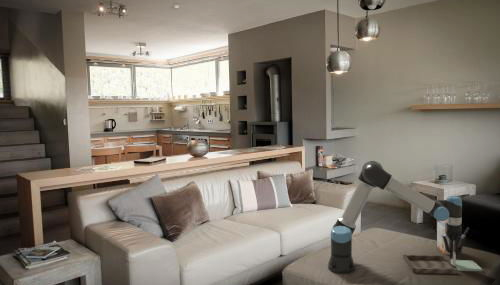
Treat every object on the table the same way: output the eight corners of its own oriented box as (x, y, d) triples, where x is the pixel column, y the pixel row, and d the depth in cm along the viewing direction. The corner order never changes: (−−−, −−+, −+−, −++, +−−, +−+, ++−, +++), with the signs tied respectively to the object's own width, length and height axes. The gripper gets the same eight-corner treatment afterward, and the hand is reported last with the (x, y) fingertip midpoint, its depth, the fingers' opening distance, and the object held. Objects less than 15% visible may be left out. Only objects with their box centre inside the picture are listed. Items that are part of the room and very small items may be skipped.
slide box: (413, 273, 215) (413, 268, 215) (403, 259, 235) (403, 254, 235) (457, 274, 212) (457, 269, 212) (443, 260, 232) (443, 255, 232)
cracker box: (454, 255, 239) (455, 222, 237) (444, 255, 240) (444, 222, 238) (446, 247, 253) (446, 216, 251) (436, 247, 254) (436, 215, 252)
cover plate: (459, 272, 216) (459, 268, 216) (450, 264, 228) (450, 260, 228) (482, 273, 215) (482, 268, 214) (472, 264, 226) (472, 260, 226)
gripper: (444, 225, 217) (443, 266, 219) (469, 225, 215) (468, 266, 218) (439, 221, 224) (439, 261, 226) (463, 221, 223) (462, 261, 225)
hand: (453, 264), depth 222 cm, fingers closed
